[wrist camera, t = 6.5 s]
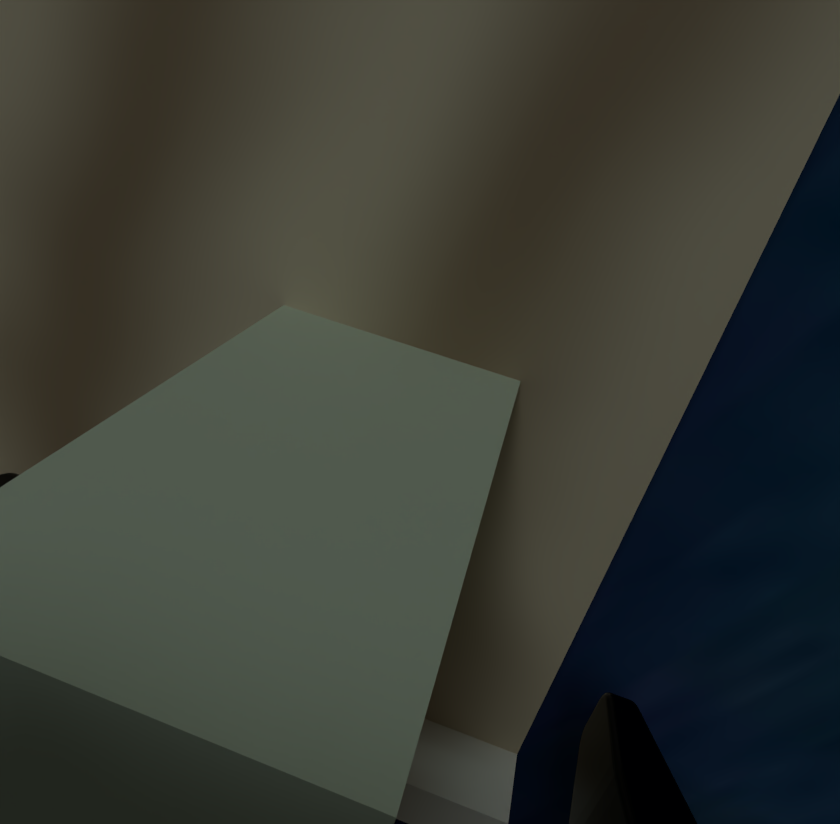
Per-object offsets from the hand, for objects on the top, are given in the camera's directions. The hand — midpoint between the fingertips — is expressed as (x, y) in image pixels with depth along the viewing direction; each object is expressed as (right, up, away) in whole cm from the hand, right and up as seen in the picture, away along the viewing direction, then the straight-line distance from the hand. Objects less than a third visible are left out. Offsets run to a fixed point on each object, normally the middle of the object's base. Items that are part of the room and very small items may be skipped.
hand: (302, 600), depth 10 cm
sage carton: (+1, +1, +2) cm, 3 cm away
